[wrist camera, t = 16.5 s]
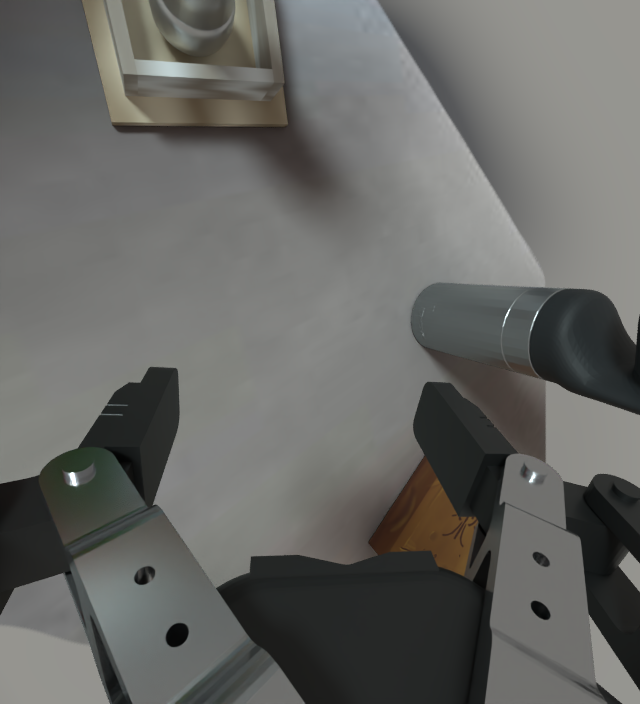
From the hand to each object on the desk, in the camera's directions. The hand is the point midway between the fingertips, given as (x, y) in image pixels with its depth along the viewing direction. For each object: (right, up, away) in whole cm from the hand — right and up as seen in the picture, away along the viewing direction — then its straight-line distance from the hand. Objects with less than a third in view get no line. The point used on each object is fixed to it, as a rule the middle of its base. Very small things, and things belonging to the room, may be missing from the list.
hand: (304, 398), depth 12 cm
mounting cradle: (-11, +31, +21) cm, 39 cm away
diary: (+20, -22, +49) cm, 57 cm away
